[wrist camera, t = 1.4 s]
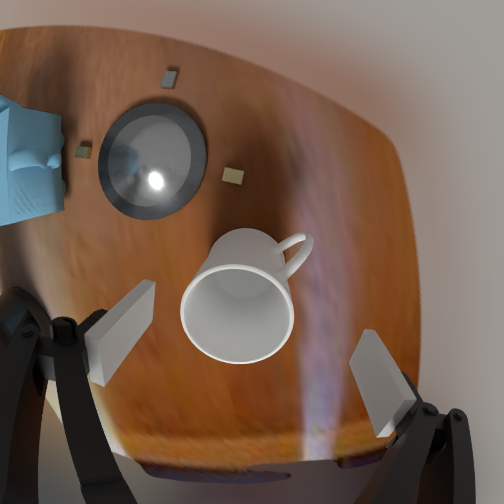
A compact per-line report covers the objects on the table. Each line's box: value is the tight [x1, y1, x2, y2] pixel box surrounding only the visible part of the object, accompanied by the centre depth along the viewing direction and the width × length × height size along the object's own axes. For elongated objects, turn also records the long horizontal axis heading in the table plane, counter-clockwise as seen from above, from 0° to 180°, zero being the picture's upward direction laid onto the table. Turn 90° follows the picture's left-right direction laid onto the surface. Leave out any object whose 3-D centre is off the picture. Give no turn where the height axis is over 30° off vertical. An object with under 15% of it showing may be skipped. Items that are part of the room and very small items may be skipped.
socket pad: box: [75, 71, 245, 220], centre depth 27 cm, size 21×17×1 cm
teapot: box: [0, 94, 66, 226], centre depth 21 cm, size 18×16×13 cm
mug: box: [180, 228, 314, 364], centre depth 24 cm, size 12×8×12 cm
